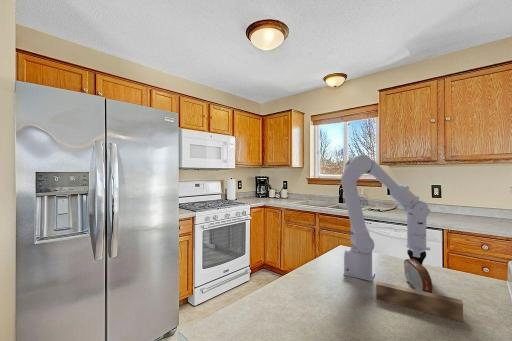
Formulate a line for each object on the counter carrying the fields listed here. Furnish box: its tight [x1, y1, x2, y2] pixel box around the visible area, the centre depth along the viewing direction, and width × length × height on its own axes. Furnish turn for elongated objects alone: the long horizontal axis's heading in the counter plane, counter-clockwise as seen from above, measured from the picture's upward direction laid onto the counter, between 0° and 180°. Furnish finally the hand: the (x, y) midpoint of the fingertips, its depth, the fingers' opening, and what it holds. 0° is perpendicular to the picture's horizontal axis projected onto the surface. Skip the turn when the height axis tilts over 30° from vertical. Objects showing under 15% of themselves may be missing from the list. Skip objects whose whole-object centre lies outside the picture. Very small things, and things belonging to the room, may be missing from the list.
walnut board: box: [375, 280, 464, 323], centre depth 69 cm, size 20×2×4 cm, turn 56°
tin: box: [403, 258, 433, 293], centre depth 80 cm, size 15×3×8 cm, turn 168°
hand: (416, 271), depth 88 cm, fingers closed
